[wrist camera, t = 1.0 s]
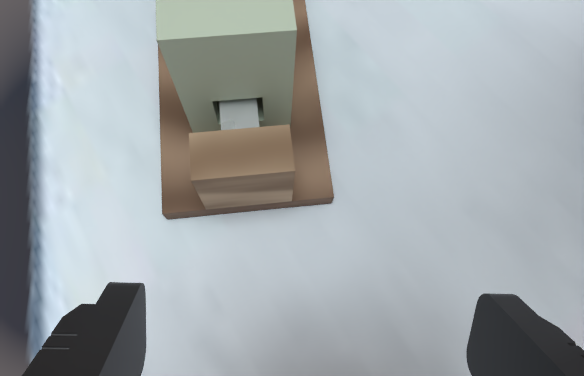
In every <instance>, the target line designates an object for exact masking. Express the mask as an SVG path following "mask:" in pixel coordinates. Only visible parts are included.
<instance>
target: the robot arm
mask: <svg viewBox="0 0 584 376" xmlns="http://www.w3.org/2000/svg"><path fill="white" fill-rule="evenodd" d="M145 353H146V298H145V286H144V284H143V283H118V282H110V283H108V284H107V286H106V288H105V289H104V291H103V293H102V294H101V296H100V298H99V299H98V301H97V303H96V304H81V305H79V306H78V307H76V308H75V309H74V310H72V311H71V312H69V313H68V314H66V315H65V316H63V317H62V318H61V320H60V321H59V323H58V324H57V326H56V327H55V329H54V330H53V332H52V333H51V336H49V337H48V339H47V340H46V342H45V343H44V345H43V346H42V350H39V352H38V353H37V355H36V356H35V358H34V359H33V361H32V362H31V363H30V365H29V366H28V368H27V369H26V371H25V372H24V374H23V375H22V376H141V373H142V370H143V366H144V360H145ZM467 363H468V367H469V370H470V373H471V375H472V376H584V350H583V349H582V348H581V347H579V346H576V345H575V342H574V341H573V340H572V339H571V338H570V337H569V336H568V335H566V334H565V333H564V332H563V331H562V330H561V329H560V328H558V327H557V326H555V325H553V324H552V323H550V322H548V321H547V320H545V319H543V318H541V317H540V316H538V315H537V314H536V313H535V312H534V311H533V310H532V309H531V308H530V307H529V306H528V305H527V304H525V303H524V302H523V301H522V300H521V299H520V298H519V297H518V296H516V295H514V294H482V295H481V296H480V297H479V299H478V301H477V305H476V309H475V314H474V318H473V323H472V327H471V332H470V336H469V341H468V345H467Z"/></svg>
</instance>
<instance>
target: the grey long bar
mask: <svg viewBox="0 0 584 376" xmlns="http://www.w3.org/2000/svg"><path fill="white" fill-rule="evenodd" d="M219 108H220V122H221V130H231V129H242V128H254V127H259V118H258V108H257V98H248V99H236V100H224V101H219Z"/></svg>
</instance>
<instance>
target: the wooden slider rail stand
mask: <svg viewBox="0 0 584 376" xmlns="http://www.w3.org/2000/svg"><path fill="white" fill-rule="evenodd" d="M293 5H294V13H295V20H296V27H297V36H296V51H295V66H294V81H293V96H292V111H291V126H290V124H288V125H277V126H265V127H254V128H242V129H231V130H219V131H208V132H196V133H193V132H192V129H191V126H190V124H189V121H188V119H187V116H186V114H185V111H184V109H183V106H182V103H181V101H180V98H179V96H178V93H177V91H176V88H175V86H174V83H173V81H172V78H171V75H170V73H169V70H168V68H167V65H166V63H165V60H164V58H163V55H162V53H161V50H160V47H159V45H158V58H159V98H160V139H161V180H162V214H163V215H164V216H165V218H166V219H177V218H187V217H197V216H207V215H217V214H227V213H237V212H247V211H257V210H267V209H278V208H288V207H298V206H308V205H318V204H328V203H332V201H333V198H334V194H333V187H332V181H331V174H330V167H329V161H328V154H327V147H326V140H325V134H324V127H323V120H322V113H321V107H320V100H319V93H318V86H317V80H316V73H315V66H314V59H313V53H312V46H311V39H310V32H309V26H308V19H307V12H306V5H305V0H293Z"/></svg>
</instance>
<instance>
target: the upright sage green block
mask: <svg viewBox="0 0 584 376" xmlns="http://www.w3.org/2000/svg"><path fill="white" fill-rule="evenodd" d="M156 31H157V42H158V45H159V47H160V50H161V53H162V55H163V58H164V60H165V63H166V65H167V68H168V70H169V73H170V75H171V78H172V81H173V83H174V86H175V88H176V91H177V93H178V96H179V98H180V101H181V103H182V106H183V109H184V111H185V114H186V116H187V119H188V121H189V124H190V126H191V129H192V132H193V133H196V132H208V131H219V130H221V122H220V108H219V101H224V100H236V99H248V98H257V108H258V118H259V127H265V126H277V125H288V124H290V126H291V111H292V96H293V81H294V66H295V51H296V36H297V27H296V20H295V13H294V5H293V0H156Z"/></svg>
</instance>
